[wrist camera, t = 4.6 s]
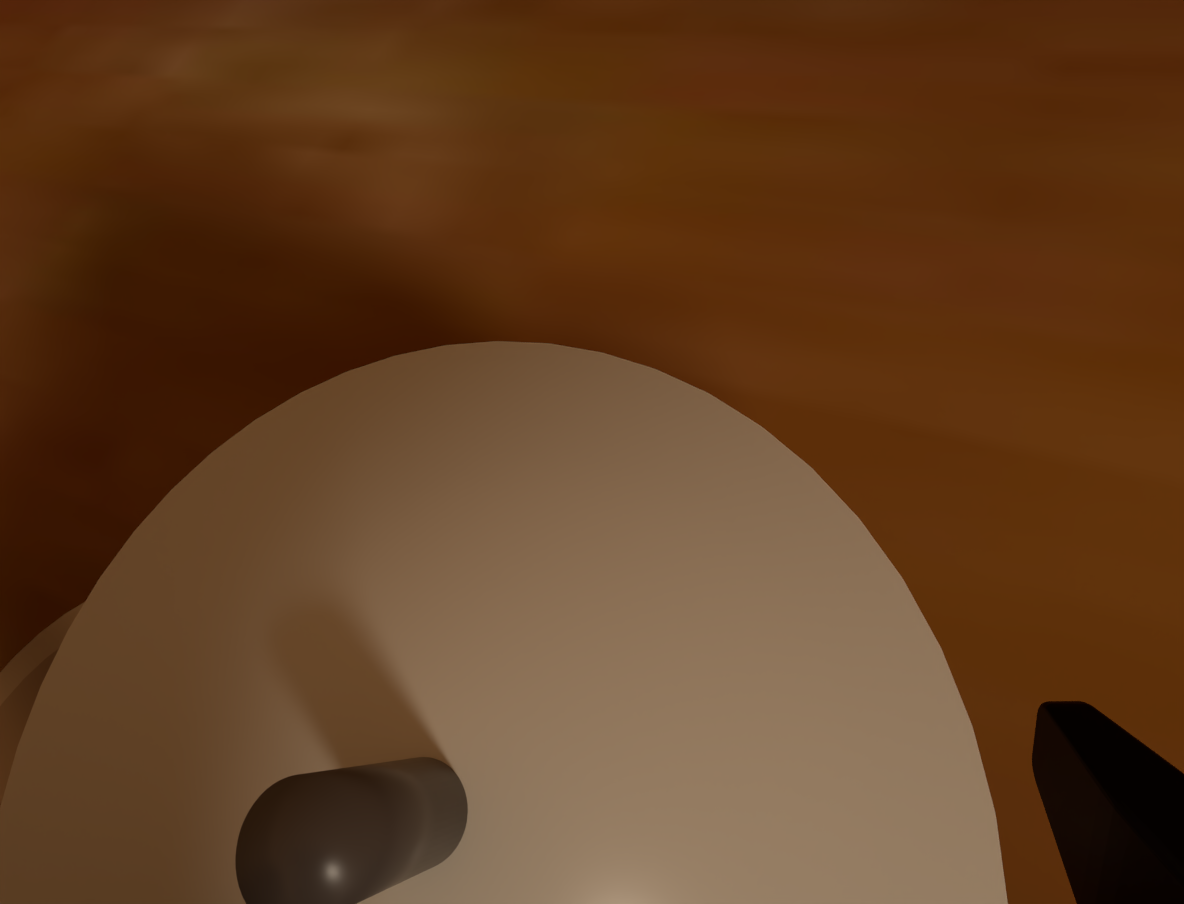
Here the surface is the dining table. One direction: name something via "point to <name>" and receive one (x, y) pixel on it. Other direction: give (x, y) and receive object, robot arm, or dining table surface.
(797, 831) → the candle
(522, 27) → the dining table surface
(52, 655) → the base disc
